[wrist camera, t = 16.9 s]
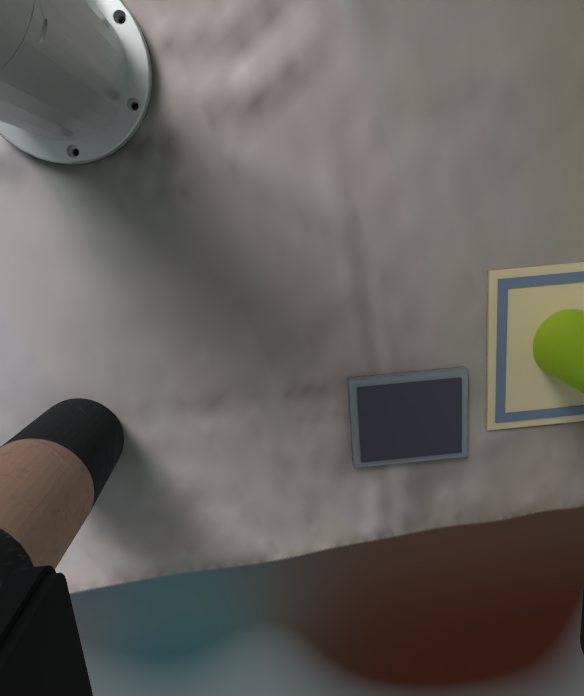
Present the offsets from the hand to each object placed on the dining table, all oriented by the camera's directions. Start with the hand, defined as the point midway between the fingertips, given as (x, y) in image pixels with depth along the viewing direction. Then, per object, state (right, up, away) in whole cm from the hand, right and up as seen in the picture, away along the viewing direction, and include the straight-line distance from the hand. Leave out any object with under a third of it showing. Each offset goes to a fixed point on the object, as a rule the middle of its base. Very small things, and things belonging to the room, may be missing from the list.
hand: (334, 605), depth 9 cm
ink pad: (+9, -1, +35) cm, 36 cm away
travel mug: (-19, -3, +34) cm, 39 cm away
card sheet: (+23, +5, +34) cm, 41 cm away
